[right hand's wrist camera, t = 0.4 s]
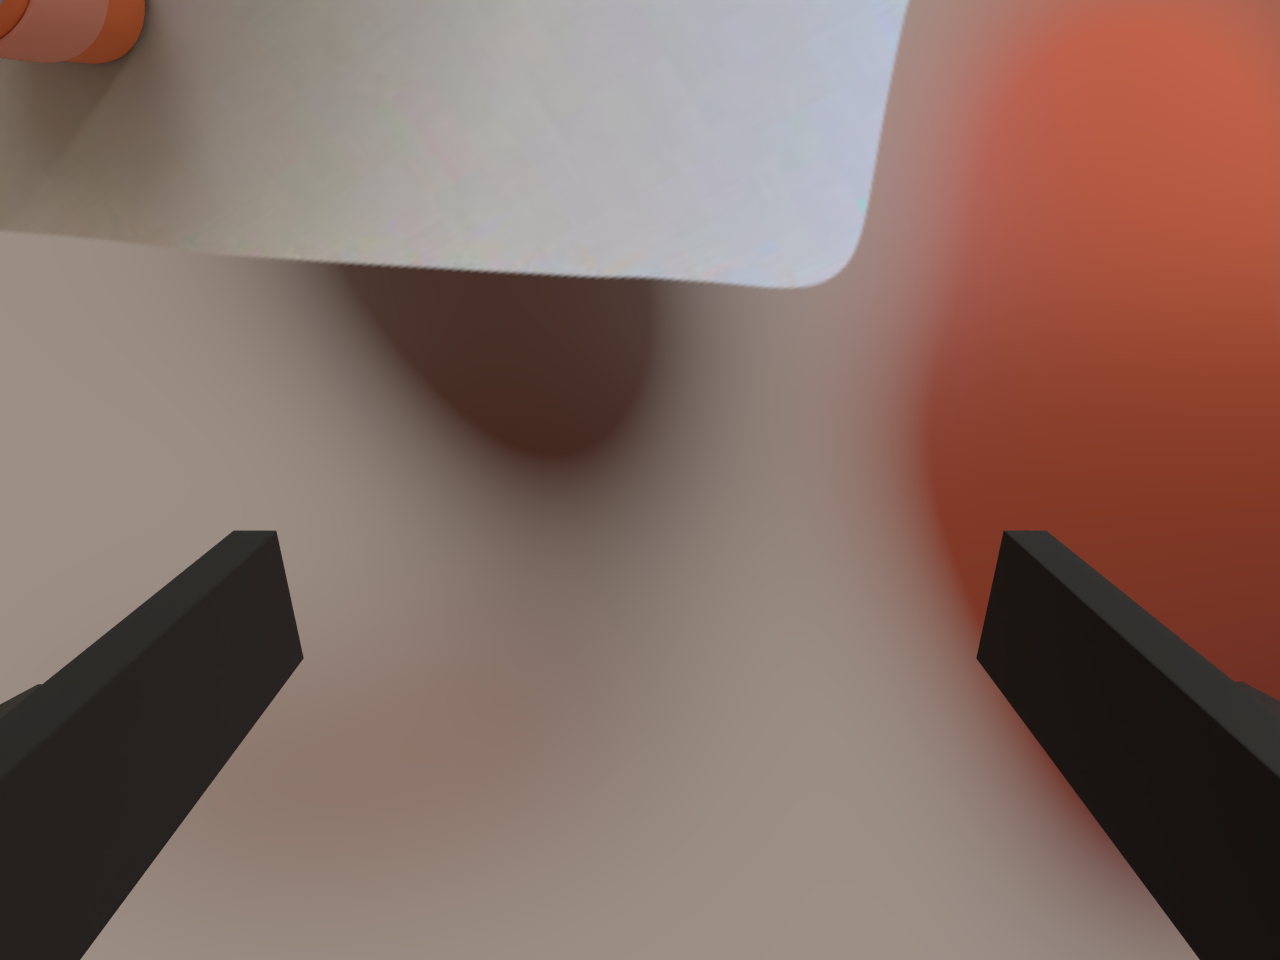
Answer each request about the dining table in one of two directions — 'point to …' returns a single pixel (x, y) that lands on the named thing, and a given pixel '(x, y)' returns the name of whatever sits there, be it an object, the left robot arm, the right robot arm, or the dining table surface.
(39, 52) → the cup with straw
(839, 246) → the dining table surface
